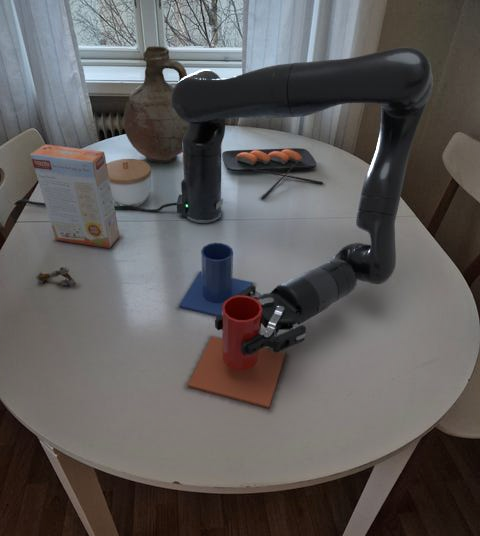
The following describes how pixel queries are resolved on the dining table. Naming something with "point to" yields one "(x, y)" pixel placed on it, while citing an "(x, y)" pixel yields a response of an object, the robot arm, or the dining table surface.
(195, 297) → the blue mat
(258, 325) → the red cup
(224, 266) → the blue cup
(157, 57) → the jug
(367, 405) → the dining table surface
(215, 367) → the terracotta mat
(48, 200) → the cracker box
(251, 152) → the sushi plate
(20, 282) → the dining table surface
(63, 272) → the chicken wing bone
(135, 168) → the lidded bowl
